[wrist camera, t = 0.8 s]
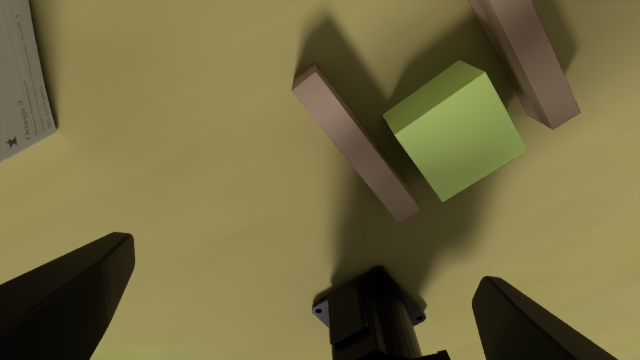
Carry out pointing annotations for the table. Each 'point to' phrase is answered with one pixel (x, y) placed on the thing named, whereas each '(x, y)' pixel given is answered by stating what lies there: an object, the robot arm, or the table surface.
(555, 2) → the table surface
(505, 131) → the lime block
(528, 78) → the lane rails
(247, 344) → the table surface
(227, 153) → the table surface
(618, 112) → the table surface
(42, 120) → the supplement box
